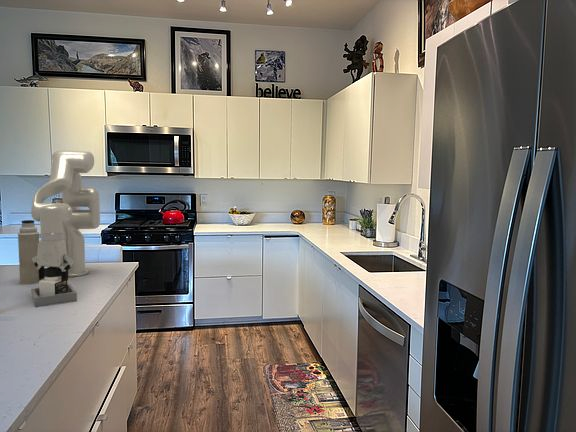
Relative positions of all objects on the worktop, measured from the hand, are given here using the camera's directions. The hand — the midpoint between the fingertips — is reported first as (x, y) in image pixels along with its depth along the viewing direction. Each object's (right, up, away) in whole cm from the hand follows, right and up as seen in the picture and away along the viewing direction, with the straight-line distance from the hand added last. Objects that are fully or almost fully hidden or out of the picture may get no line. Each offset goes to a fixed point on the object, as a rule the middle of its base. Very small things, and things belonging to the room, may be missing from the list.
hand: (53, 279), depth 165 cm
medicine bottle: (0, -7, +1) cm, 7 cm away
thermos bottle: (-24, -5, +24) cm, 34 cm away
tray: (0, -8, 0) cm, 8 cm away
